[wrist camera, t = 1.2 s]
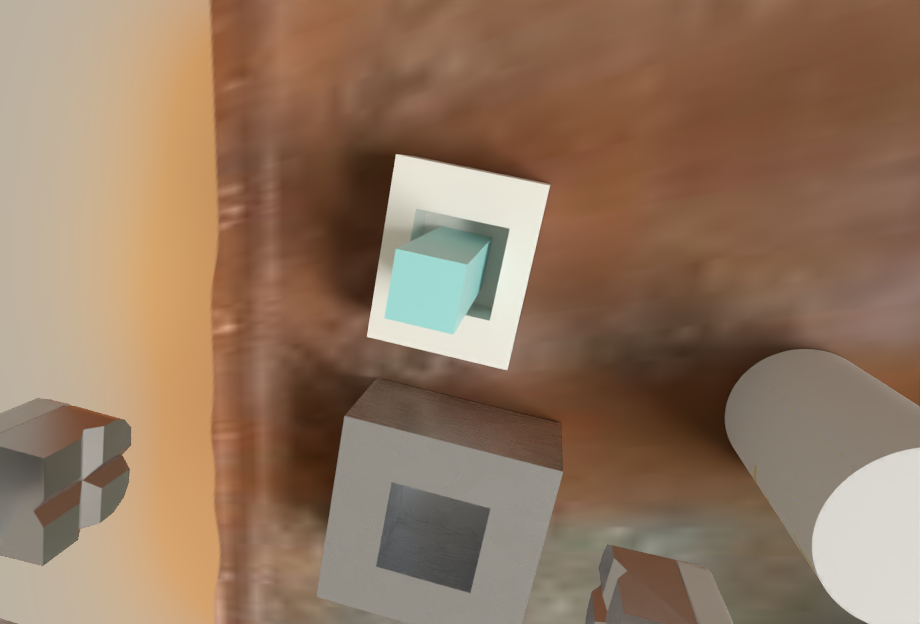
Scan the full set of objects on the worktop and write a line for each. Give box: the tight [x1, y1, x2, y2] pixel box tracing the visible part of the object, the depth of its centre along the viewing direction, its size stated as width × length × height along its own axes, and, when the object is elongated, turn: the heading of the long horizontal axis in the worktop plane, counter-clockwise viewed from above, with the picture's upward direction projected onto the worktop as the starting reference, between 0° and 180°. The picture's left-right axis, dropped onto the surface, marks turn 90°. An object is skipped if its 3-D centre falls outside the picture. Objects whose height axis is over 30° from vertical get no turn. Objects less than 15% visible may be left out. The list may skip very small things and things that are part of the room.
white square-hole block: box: [367, 154, 550, 370], centre depth 32 cm, size 10×8×4 cm
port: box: [317, 378, 563, 624], centre depth 35 cm, size 12×12×6 cm
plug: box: [384, 226, 493, 334], centre depth 28 cm, size 3×3×10 cm
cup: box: [725, 349, 920, 624], centre depth 28 cm, size 8×8×12 cm
